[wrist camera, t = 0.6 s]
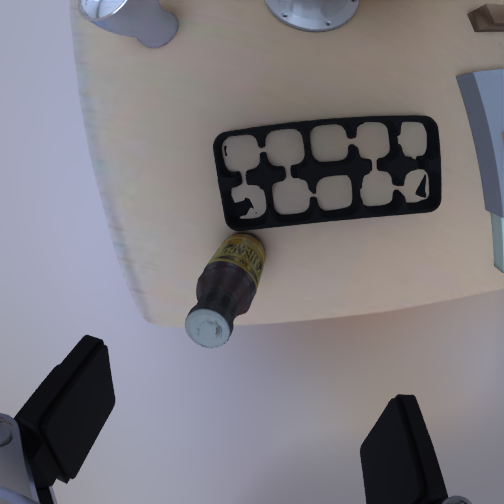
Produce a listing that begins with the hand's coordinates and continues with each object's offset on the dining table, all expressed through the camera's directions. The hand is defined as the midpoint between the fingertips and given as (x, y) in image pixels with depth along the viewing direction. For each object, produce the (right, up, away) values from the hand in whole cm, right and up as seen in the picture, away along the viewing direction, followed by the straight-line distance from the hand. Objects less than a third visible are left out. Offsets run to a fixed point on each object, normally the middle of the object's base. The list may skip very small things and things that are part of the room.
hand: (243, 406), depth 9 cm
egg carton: (+11, +16, +31) cm, 37 cm away
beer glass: (-13, +35, +26) cm, 46 cm away
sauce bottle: (-1, +5, +36) cm, 36 cm away
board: (+40, +23, +25) cm, 52 cm away
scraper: (+39, +40, +19) cm, 59 cm away
